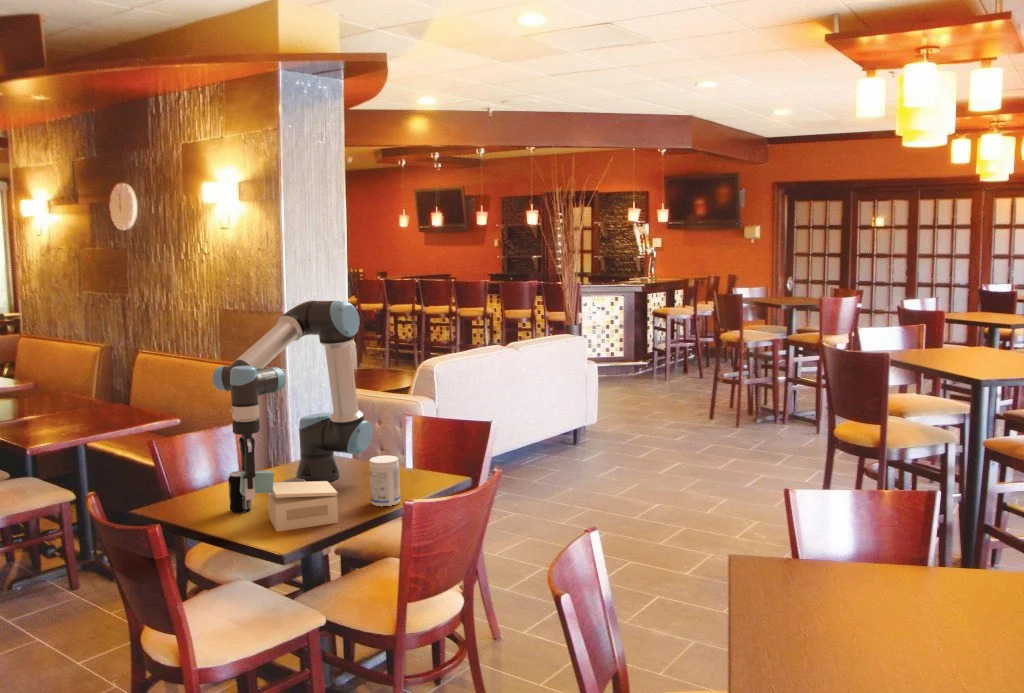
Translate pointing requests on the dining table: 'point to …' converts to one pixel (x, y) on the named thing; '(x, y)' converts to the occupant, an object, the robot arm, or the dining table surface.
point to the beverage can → (237, 494)
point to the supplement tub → (384, 480)
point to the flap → (287, 486)
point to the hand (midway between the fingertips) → (249, 497)
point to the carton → (302, 511)
